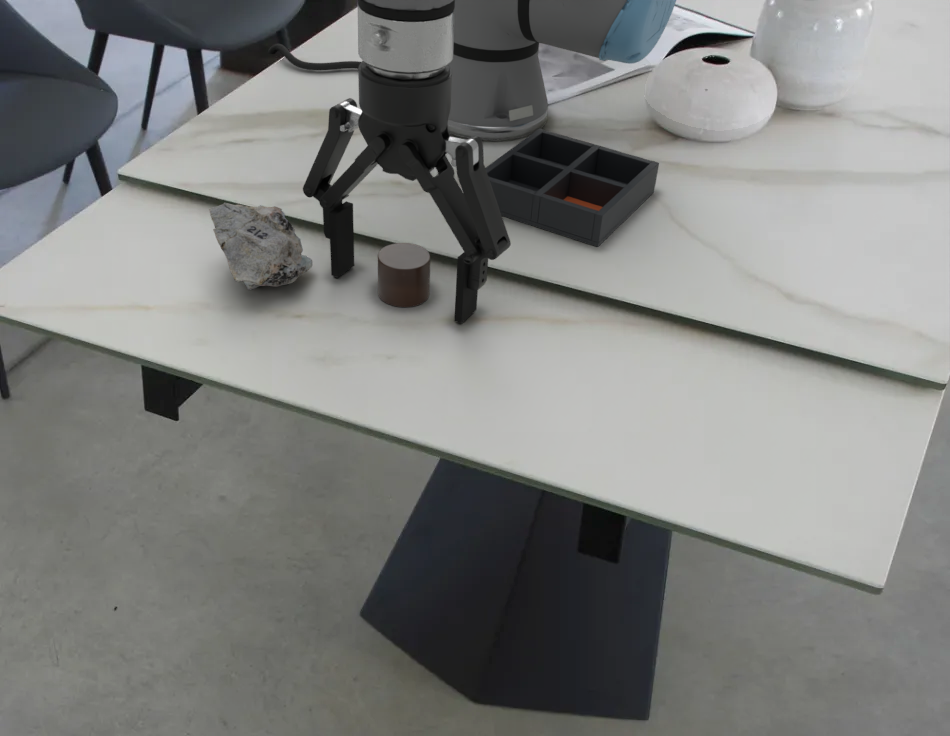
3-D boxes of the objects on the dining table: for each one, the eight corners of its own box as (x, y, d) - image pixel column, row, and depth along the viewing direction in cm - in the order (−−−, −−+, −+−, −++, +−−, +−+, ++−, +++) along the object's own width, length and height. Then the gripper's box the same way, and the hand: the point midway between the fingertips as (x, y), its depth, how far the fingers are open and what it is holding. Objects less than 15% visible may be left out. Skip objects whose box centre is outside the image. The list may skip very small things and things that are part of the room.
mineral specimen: (296, 320, 101) (192, 298, 98) (307, 240, 102) (204, 217, 99) (316, 296, 92) (202, 272, 89) (328, 210, 93) (215, 183, 89)
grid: (472, 206, 110) (474, 175, 107) (536, 157, 120) (539, 128, 117) (597, 247, 105) (602, 215, 102) (654, 192, 114) (659, 162, 112)
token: (367, 296, 96) (367, 258, 93) (396, 274, 99) (396, 237, 96) (411, 313, 94) (411, 275, 91) (439, 290, 97) (440, 252, 94)
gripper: (251, 39, 84) (270, 269, 98) (521, 116, 75) (499, 355, 89) (307, 16, 89) (318, 237, 103) (566, 85, 80) (539, 316, 94)
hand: (402, 292), depth 96 cm, fingers open, 13 cm apart
